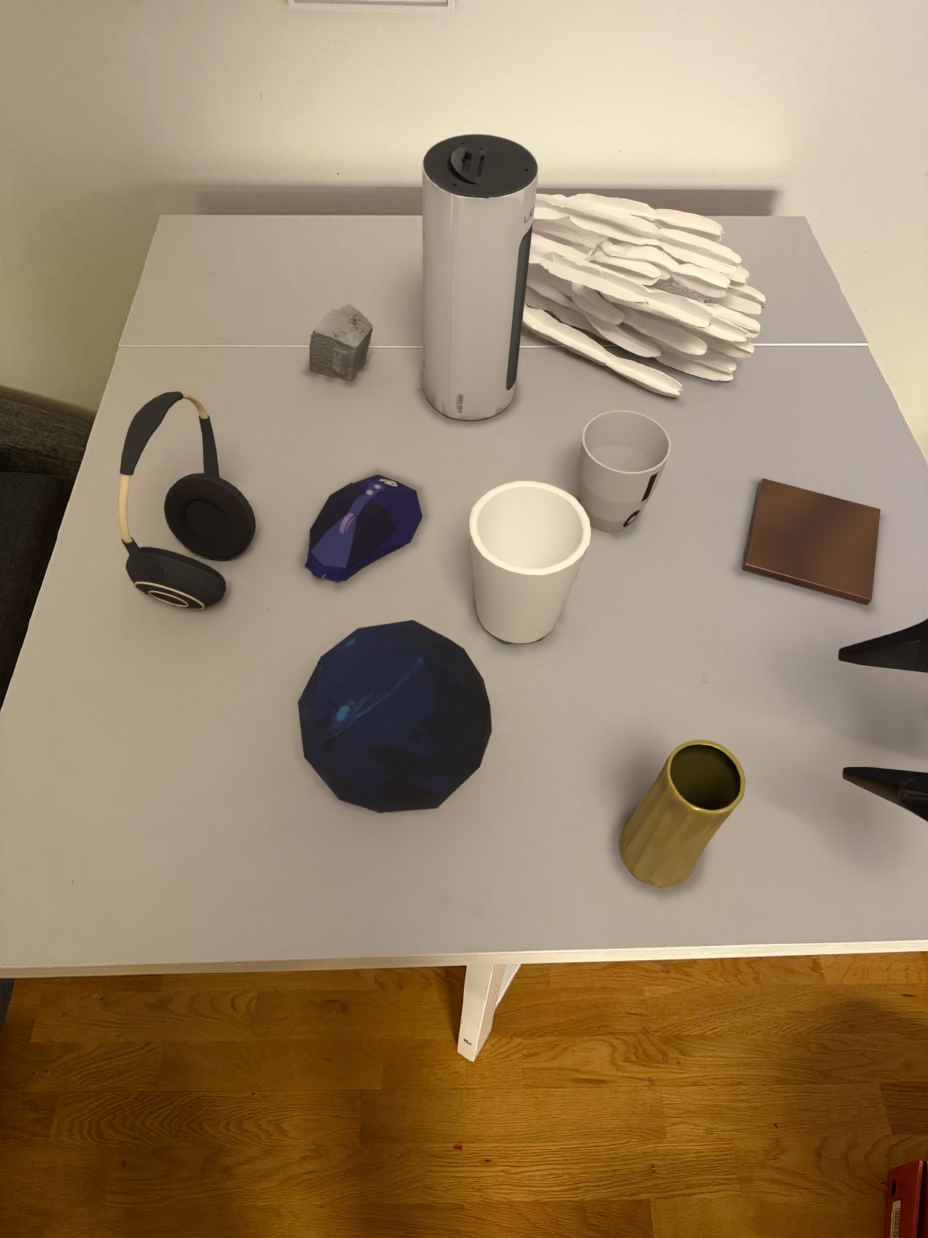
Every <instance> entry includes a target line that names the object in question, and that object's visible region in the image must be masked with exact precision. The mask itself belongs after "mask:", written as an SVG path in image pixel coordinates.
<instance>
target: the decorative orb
mask: <svg viewBox="0 0 928 1238" xmlns="http://www.w3.org/2000/svg"><path fill="white" fill-rule="evenodd" d="M297 708H298V717H299V725H300V735H301V743H302V751H303V757H304V759H305V760H306V761H307V763H308V764H309V765H310V766H311V768H312V769H313V770H314V771H315V772H316V773H317V775H318V777H320V779H321V780H322V781H323V782H324V784H325V785H326V786H327V787H328V788H329V790H330V791H331V792H332V793H333V794H334V796H335V798H336V799H338V801H341V802H343V803H347V804H350V805H353V806H357V807H359V808H362V809H366V810H369V811H371V812H372V811H373V812H375V813H378V814H384V813H385V814H386V813H397V812H409V811H410V812H411V811H421V810H422V811H423V810H433V809H434V810H435V809H438V808H439V807H440V806H441V805H442V804H443V803H444V802H445V801H446V800H447V799H448V798H450V797H451V796H452V795H453V793H455V792H456V791H457V790H458V789H459V788H460V787H461V786H462V785H463V784H464V783H465V782H466V781H467V780H468V779H470V777H471V776H473V775H474V774H475V773H476V772H477V771H478V770H479V769H480V767H481V765H482V762H483V759H484V756H485V753H486V750H487V748H488V744H489V741H490V738H491V735H492V732H493V724H492V723H493V722H492V709H491V702H490V698H489V694H488V690H487V688H486V683H485V679H484V677H483V676H482V675H481V672H480V671H479V670H478V668H477V666H476V665H475V663H474V662H473V660H472V658H471V657H470V655H469V654H468V652H467V651H466V648H464V647H463V646H461V645H459V644H458V643H456V642H455V641H454V640H453V639H451V638H448V637H447V636H445V635H443V634H442V633H439V632H437V631H435V630H433V629H431V628H429V626H428V627H427V626H426V625H424V624H422V623H421V622H418V621H417V620H415V619H409V620H402V621H396V622H390V623H382V624H376V625H371V626H370V625H369V626H363V627H357V628H356V629H355V630H353V631H352V632H350V633H349V634H348V635H346V637H344V638H343V639H342V640H340V641H339V642H337V644H335V645H334V646H333V647H331V648H330V649H328V650H327V651H326V652H325V653H323V654H322V655H321V656H320V657H319V659H318V661H317V663H316V665H315V667H314V669H313V671H312V673H311V675H310V677H309V678H308V681H307V683H306V685H305V687H304V689H303V691H302V693H301V695H300V697H299V698H298V701H297Z"/></svg>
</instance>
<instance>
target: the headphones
mask: <svg viewBox="0 0 928 1238" xmlns="http://www.w3.org/2000/svg"><path fill="white" fill-rule="evenodd" d="M182 400H188V401H189V402H190V403H192V404H193V405H194V407H195V409H196V410H197V412H198V422H199V427H200V432H201V437H202V438H201V441H202V459H203V460H202V463H203V472H196V473H190V474H188V475H184V476H183V477H181V478H179V479H178V480H176V481H175V482H174V484H172V485H171V486H170V487H169V489H168V490H167V493H166V494H165V498H164V503H163V513H164V518H165V522H166V524H167V526H168V528H169V530H170V532H171V533H172V535H173V536H174V537H175V538H176V540H178V542H179V543H181V545H182V546H183V547H185V548H186V549H187V550H188V551H191V552H192V553H194V554H196V555H198V556H200V557H203V558H205V559H209V560H214V561H226V560H230V559H234V558H236V557H238V556H240V555H242V554H243V553H244V552H245V551H246V550H247V549H248V548H249V547H250V545H251V543H252V542H253V540H254V537H255V533H256V531H257V530H256V529H257V528H256V527H257V522H256V515H255V512H254V510H253V507H252V506H251V503H250V502H249V500H248V499H247V498H246V496H245V495H244V493H242V491H241V490H240V489H238V488H237V487H236V486H235V485H233V484H232V483H231V482H230V481H228V480H226V479H224V478H222V477H221V476H220V467H219V458H218V450H217V446H216V439H215V434H214V430H213V429H214V428H213V425H212V420H211V417H210V415H209V414H208V412H207V410H206V408H205V406H204V404H202V402H201V401H200V400H199V398H197V397H195V396H193V395H192V394H189V393H185V392H181V391H179V390H178V391H175V390H174V391H167V392H163V393H161V394H159V395H157V396H155V397H153V398H152V399H151V400H149V401H147V402H146V403H145V404H143V405H142V406H141V408H139V410H138V411H136V413H135V414H134V415H133V418H132V419H131V422H130V424H129V426H128V428H127V432H126V435H125V438H124V441H123V442H124V443H123V447H122V451H121V457H120V465H119V474H120V481H119V482H120V483H119V489H118V497H117V499H118V500H117V518H118V526H119V527H118V528H119V531H120V535H121V542H122V544H123V546H124V548H125V549H126V551H127V553H128V557H127V559H126V562H125V570H126V573H127V576H128V577H129V579H130V581H131V582H132V584H133V586H134V588H135V589H136V590H138V591H139V592H141V593H143V594H145V595H147V596H149V597H151V598H153V599H155V600H157V601H159V602H162V603H166V604H168V605H170V606H171V605H172V606H175V607H178V608H184V609H189V610H196V611H197V610H200V611H201V610H204V609H205V608H208V607H212V606H213V605H216V604H217V603H219V602H221V601H222V599H223V598H224V596H225V594H226V591H227V581H226V580H225V577H224V576H223V574H222V573H220V572H219V571H218V570H217V569H215V568H213V567H211V566H210V565H208V564H206V563H204V562H202V561H200V560H197V559H195V558H193V557H191V556H188V555H185V554H182V553H180V552H179V553H178V552H176V551H172V550H168V549H165V548H159V547H155V546H139V545H138V543H137V542H136V540H135V539H134V537H133V536H131V533H130V527H129V520H128V499H129V487H130V482H131V478H132V476H133V475H134V474H135V470H136V467H137V465H138V462H139V460H140V458H141V456H142V454H143V452H144V450H145V448H146V447H147V444H148V443H149V441H150V439H151V438H152V436H153V435H154V434H155V432H156V431H157V430H158V428H159V427H160V426H161V425H162V422H163V421H164V419H165V417H166V416H167V414H168V412H169V410H170V409H171V408H172V407H173V406H174V405H175V404H176V403H177V402H180V401H182Z"/></svg>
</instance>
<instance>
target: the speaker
mask: <svg viewBox="0 0 928 1238" xmlns="http://www.w3.org/2000/svg"><path fill="white" fill-rule="evenodd" d="M421 165H422V167H421V169H422V175H421V176H422V177H421V178H422V181H421V183H422V380H421V381H422V389H423V392H424V394H425V397H426V398H427V402H429V403H430V405H431V406H432V407H433V408H435V409H436V411H438V412H439V413H441V414H443V415H445V416H447V417H449V418H451V419H456V420H461V421H471V422H472V421H473V422H474V421H482V420H486V419H487V420H488V419H490V418H493V417H495V416H497V415H499V414H500V413H502V412H504V411H505V410H506V409H507V408H508V407H509V405H510V404H511V403H512V401H513V399H514V397H515V394H516V386H517V385H516V384H517V377H518V367H519V357H520V347H521V337H522V329H523V324H522V321H523V311H524V302H525V293H526V283H527V274H528V265H529V255H530V246H531V237H532V227H533V218H534V208H535V198H536V194H537V188H538V178H539V171H540V170H539V169H540V168H539V163H538V161H537V158H536V156H535V155H534V154H533V153H532V152H531V151H530V150H529V149H528V147H527V148H526V147H525V146H524V145H522V144H521V143H519V142H517V141H514V140H513V139H510V138H507V137H504V136H499V135H494V134H486V133H485V134H484V133H465V134H464V133H463V134H458V135H454V136H451V137H450V136H449V137H448V138H445V139H443V140H441V141H438V142H436V143H435V144H433V145H432V146H430V148H428V149H427V151H426V153H425V154H424V155H423V159H422V163H421Z"/></svg>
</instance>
